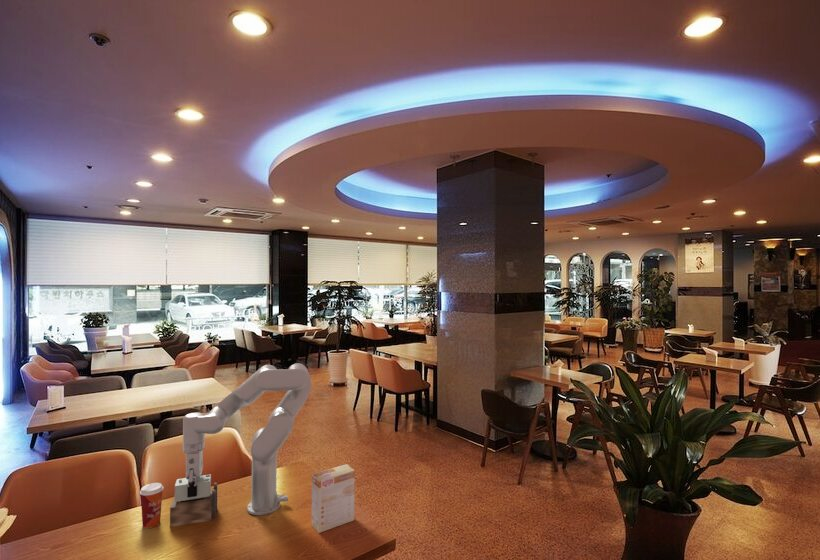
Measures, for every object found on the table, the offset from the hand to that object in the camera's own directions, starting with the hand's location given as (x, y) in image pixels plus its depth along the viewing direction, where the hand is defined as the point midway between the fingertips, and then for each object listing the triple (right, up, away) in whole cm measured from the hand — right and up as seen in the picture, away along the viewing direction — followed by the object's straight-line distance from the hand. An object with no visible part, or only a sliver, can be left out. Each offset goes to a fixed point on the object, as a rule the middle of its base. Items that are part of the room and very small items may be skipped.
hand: (193, 491), depth 169 cm
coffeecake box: (+54, -10, -3) cm, 56 cm away
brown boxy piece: (0, -10, 0) cm, 10 cm away
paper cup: (-13, -10, -5) cm, 17 cm away
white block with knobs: (0, -1, 0) cm, 1 cm away
